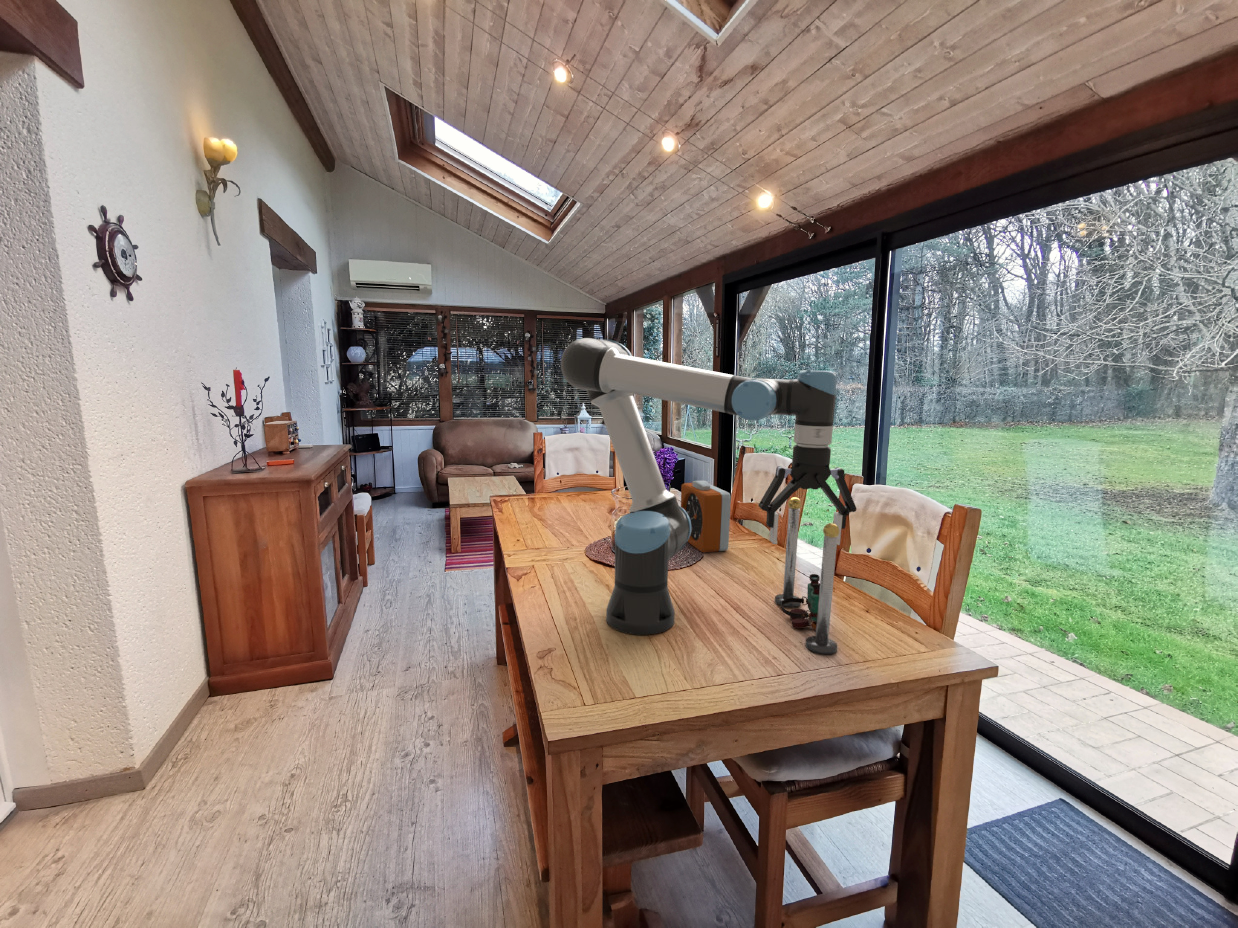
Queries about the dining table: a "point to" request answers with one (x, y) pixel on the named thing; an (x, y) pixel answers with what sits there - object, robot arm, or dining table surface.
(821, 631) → the post near
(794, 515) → the post far
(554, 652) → the dining table surface
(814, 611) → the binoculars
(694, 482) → the alarm clock
